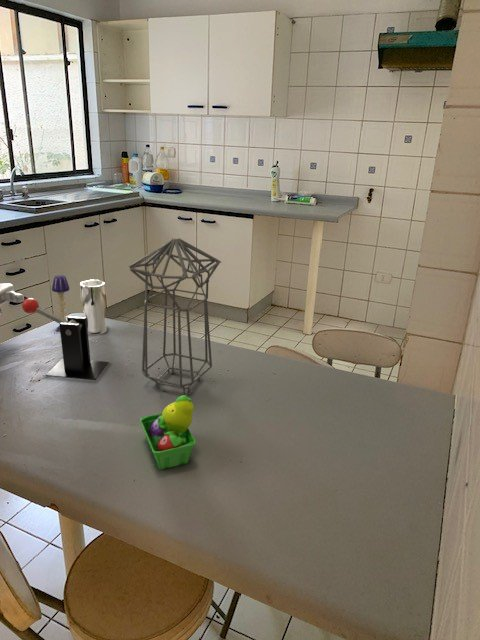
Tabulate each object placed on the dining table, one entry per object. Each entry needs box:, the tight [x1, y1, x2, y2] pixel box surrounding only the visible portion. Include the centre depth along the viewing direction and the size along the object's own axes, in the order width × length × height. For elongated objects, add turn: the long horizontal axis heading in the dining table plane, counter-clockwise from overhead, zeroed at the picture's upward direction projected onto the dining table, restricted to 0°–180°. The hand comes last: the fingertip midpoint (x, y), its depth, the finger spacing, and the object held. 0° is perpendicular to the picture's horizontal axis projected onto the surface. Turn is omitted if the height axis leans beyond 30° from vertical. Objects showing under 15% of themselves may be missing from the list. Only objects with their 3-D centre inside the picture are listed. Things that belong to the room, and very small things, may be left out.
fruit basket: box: [139, 394, 196, 470], centre depth 84 cm, size 11×9×11 cm
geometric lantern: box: [127, 238, 222, 396], centre depth 102 cm, size 16×16×35 cm
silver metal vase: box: [79, 279, 108, 336], centre depth 132 cm, size 7×7×15 cm
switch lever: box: [21, 297, 83, 331], centre depth 108 cm, size 14×4×4 cm, turn 85°
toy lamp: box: [51, 274, 70, 333], centre depth 132 cm, size 5×5×17 cm
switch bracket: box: [44, 315, 110, 381], centre depth 110 cm, size 12×9×14 cm
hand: (11, 305), depth 107 cm, fingers open, 8 cm apart
